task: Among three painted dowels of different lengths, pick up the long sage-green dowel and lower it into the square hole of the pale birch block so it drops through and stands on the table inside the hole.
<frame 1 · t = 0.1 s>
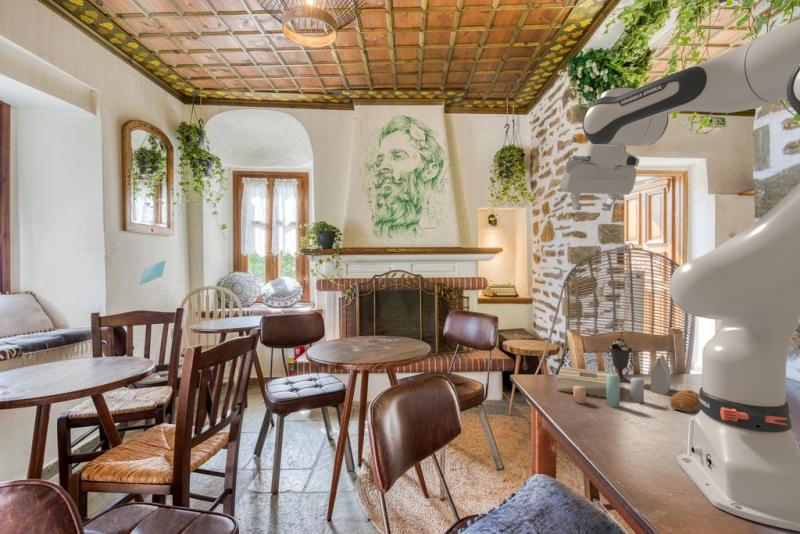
hand: (591, 210, 104), 52 cm above the table, tool tilted 20°, fingers open, 8 cm apart
medium dowel: (637, 401, 104), on the table
short dowel: (579, 402, 104), on the table
sundae: (620, 380, 122), on the table
long dowel: (612, 405, 101), on the table
hole block: (588, 388, 115), on the table
pastry: (686, 408, 100), on the table
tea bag: (660, 391, 113), on the table
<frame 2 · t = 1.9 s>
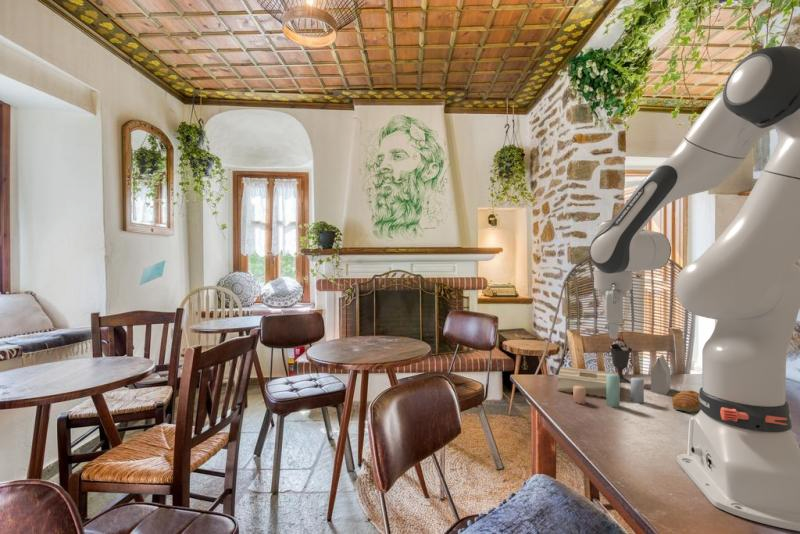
hand: (612, 334, 101), 19 cm above the table, tool pointing down, fingers open, 8 cm apart
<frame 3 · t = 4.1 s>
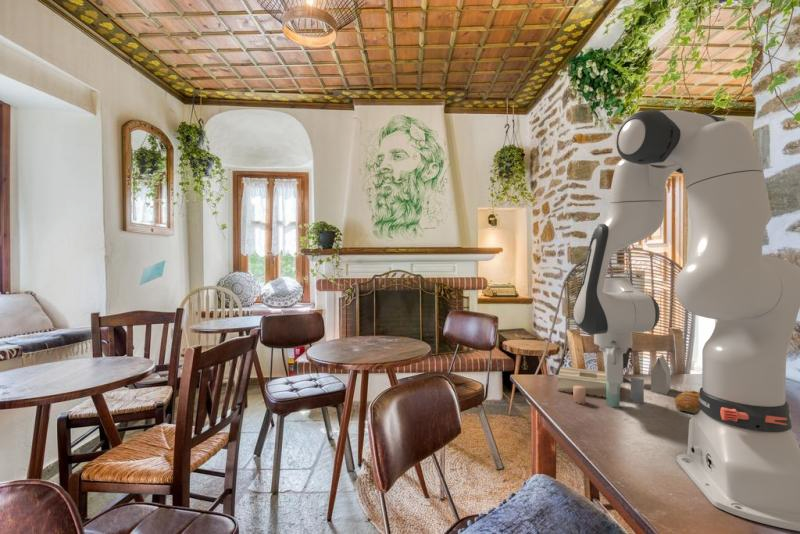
hand: (612, 390, 101), 4 cm above the table, tool pointing down, fingers closed on long dowel, 3 cm apart
long dowel: (612, 405, 101), on the table, touching gripper
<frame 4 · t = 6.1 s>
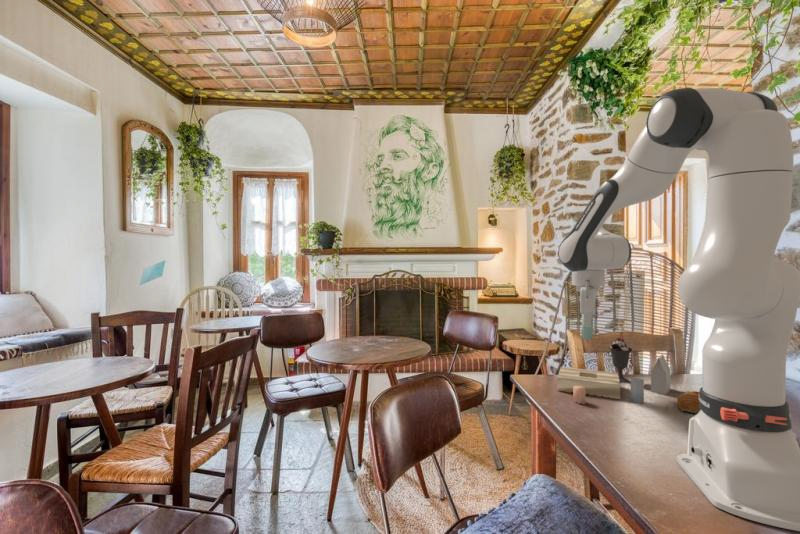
hand: (587, 326, 115), 19 cm above the table, tool pointing down, fingers closed on long dowel, 3 cm apart
long dowel: (587, 339, 115), point 15 cm above the table, touching gripper
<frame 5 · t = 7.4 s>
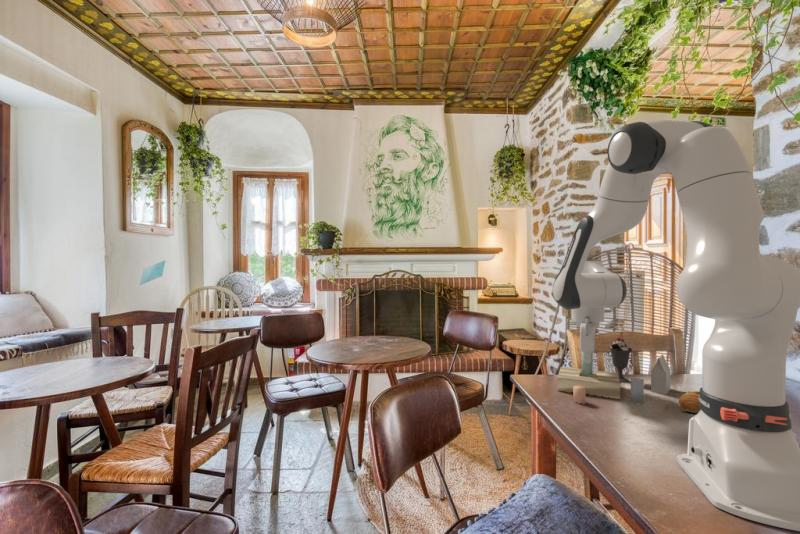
hand: (587, 360, 115), 8 cm above the table, tool pointing down, fingers closed on long dowel, 3 cm apart
long dowel: (586, 373, 115), point 4 cm above the table, touching gripper
when the fingers open (5 cm above the table, at t = 8.2 s): long dowel drops 2 cm, resting in hole block.
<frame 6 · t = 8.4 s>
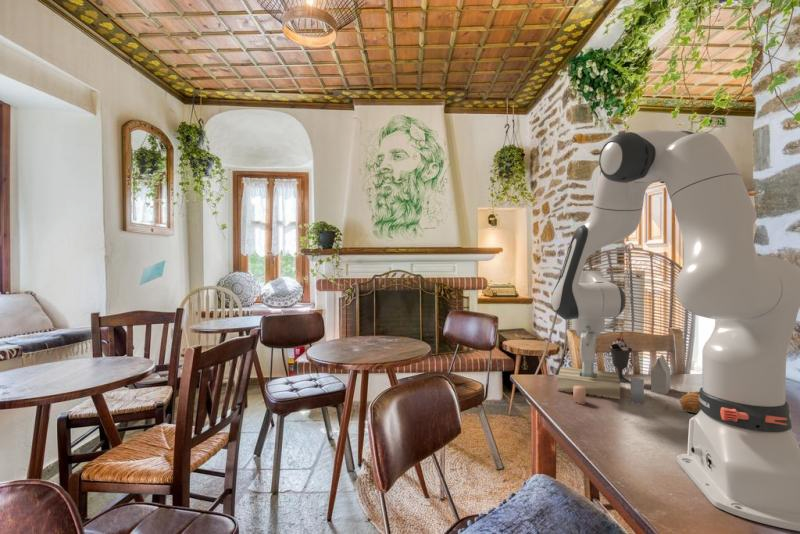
hand: (588, 370, 115), 5 cm above the table, tool pointing down, fingers open, 5 cm apart
long dowel: (587, 388, 115), resting in hole block
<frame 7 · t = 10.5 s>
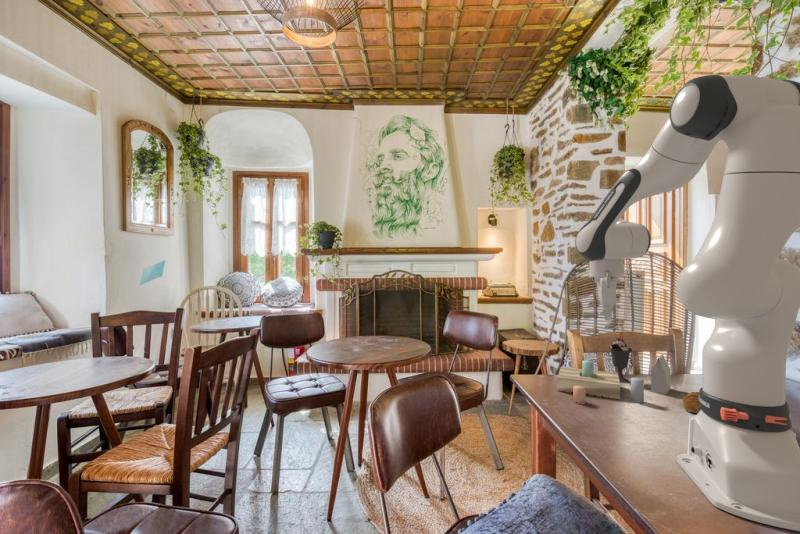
hand: (607, 318, 112), 21 cm above the table, tool pointing down, fingers open, 8 cm apart
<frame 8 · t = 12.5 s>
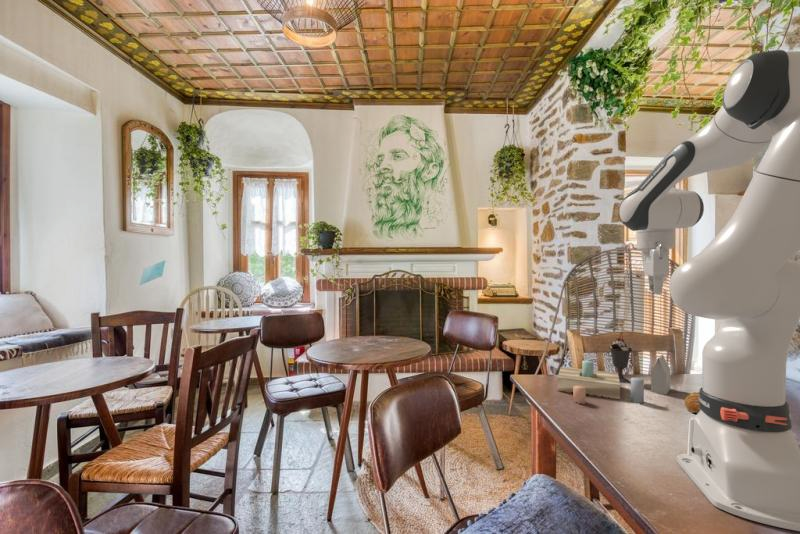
hand: (655, 292, 108), 29 cm above the table, tool pointing down, fingers open, 8 cm apart
at the end: long dowel 0.1 cm off-centre on the hole block, point 0.0 cm above the hole block's base; long dowel tilted 0°; the gripper is holding nothing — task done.
